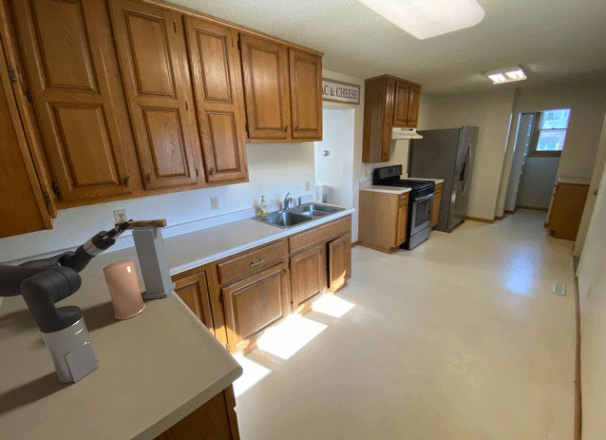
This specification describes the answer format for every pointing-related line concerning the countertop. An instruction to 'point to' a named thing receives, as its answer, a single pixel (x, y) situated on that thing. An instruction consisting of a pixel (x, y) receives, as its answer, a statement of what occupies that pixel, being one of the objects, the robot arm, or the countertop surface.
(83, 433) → the countertop surface
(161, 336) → the countertop surface
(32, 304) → the robot arm
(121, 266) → the crock
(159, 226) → the brown wooden bar
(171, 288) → the tall gray pillar
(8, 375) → the countertop surface
